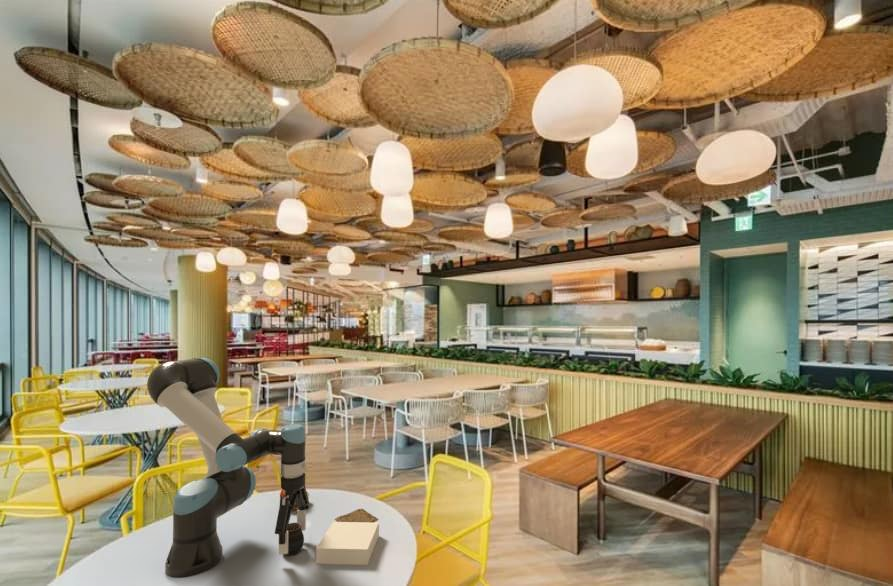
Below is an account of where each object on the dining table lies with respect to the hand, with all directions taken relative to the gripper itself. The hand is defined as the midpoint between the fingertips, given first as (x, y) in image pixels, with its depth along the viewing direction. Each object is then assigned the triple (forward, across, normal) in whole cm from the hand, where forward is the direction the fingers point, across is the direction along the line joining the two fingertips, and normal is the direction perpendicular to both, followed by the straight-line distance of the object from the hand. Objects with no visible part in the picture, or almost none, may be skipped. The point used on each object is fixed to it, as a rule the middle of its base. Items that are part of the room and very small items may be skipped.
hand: (292, 541), depth 133 cm
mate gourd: (+4, 0, 0) cm, 4 cm away
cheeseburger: (+4, +31, +13) cm, 34 cm away
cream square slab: (+4, +2, -18) cm, 18 cm away
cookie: (+4, +21, -15) cm, 26 cm away
